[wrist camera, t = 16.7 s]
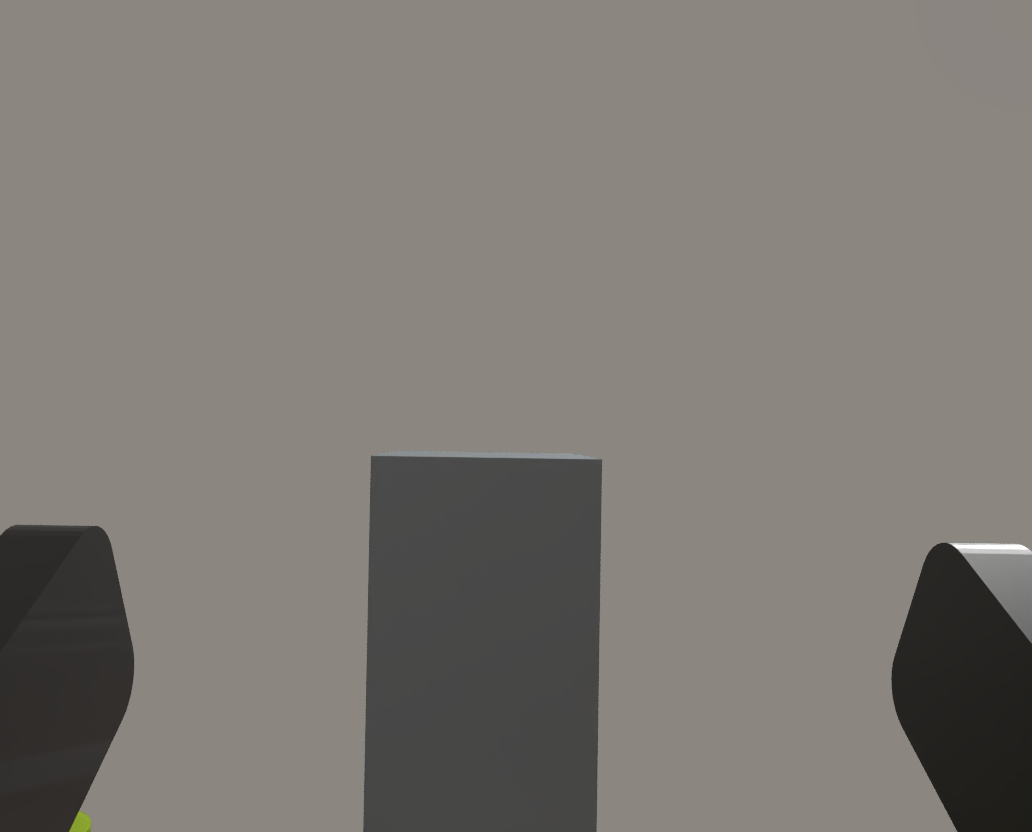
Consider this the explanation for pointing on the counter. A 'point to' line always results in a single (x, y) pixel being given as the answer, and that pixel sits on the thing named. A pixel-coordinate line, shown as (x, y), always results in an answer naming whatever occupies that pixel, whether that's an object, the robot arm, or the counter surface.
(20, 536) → the robot arm
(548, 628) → the grey rectangular pillar
